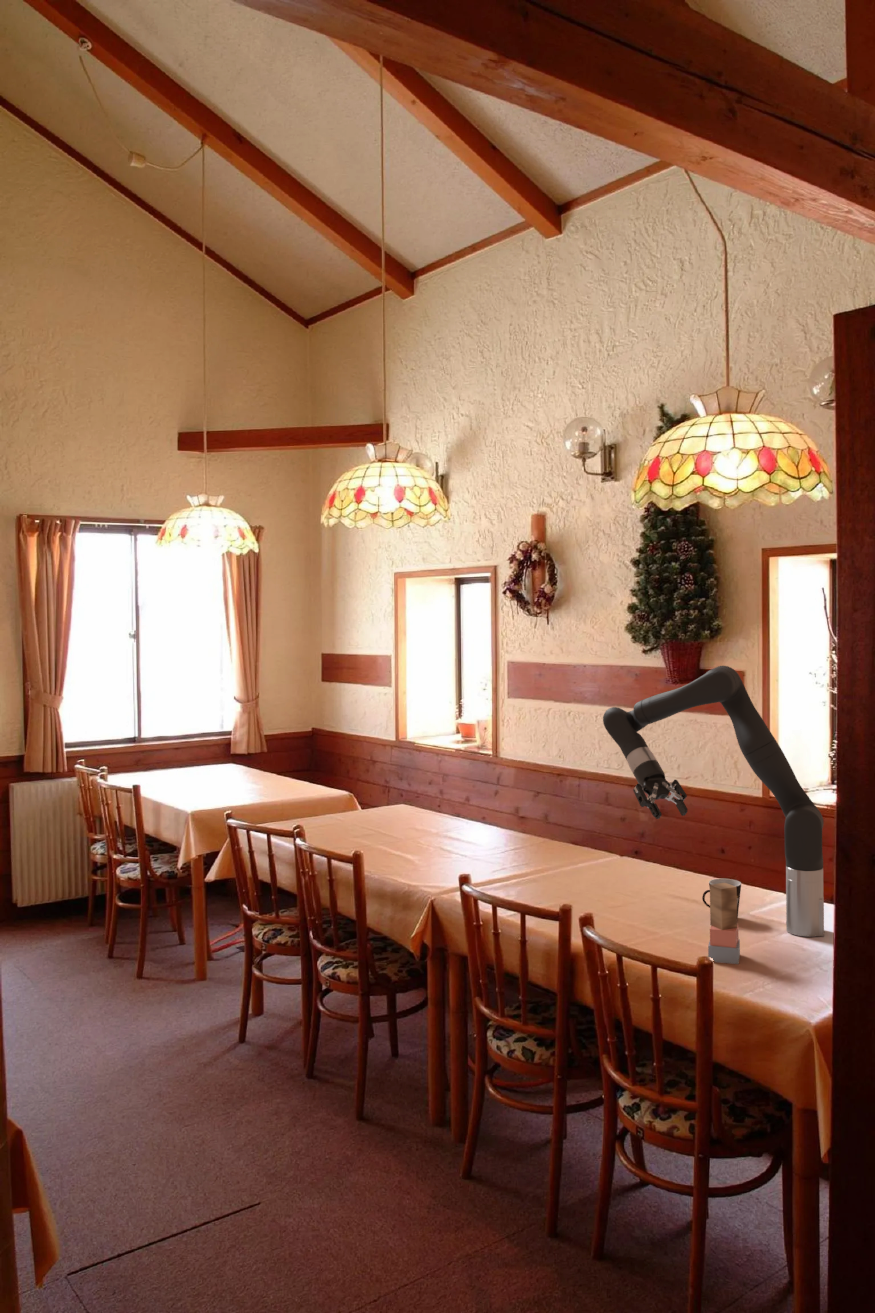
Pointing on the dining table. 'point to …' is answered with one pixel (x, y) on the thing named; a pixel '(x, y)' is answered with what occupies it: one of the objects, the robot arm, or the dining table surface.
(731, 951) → the tower bottom brick
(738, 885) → the coffee mug
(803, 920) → the robot arm
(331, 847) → the dining table surface
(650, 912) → the dining table surface
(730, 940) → the tower brick
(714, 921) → the pillar brick
